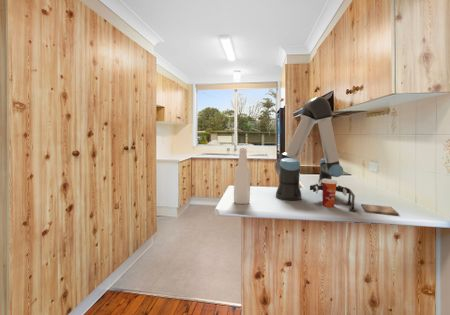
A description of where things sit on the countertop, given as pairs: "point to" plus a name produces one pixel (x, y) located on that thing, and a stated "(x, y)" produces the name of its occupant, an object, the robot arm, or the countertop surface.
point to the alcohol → (242, 179)
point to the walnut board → (379, 209)
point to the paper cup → (329, 192)
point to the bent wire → (351, 202)
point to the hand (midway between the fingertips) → (331, 192)
